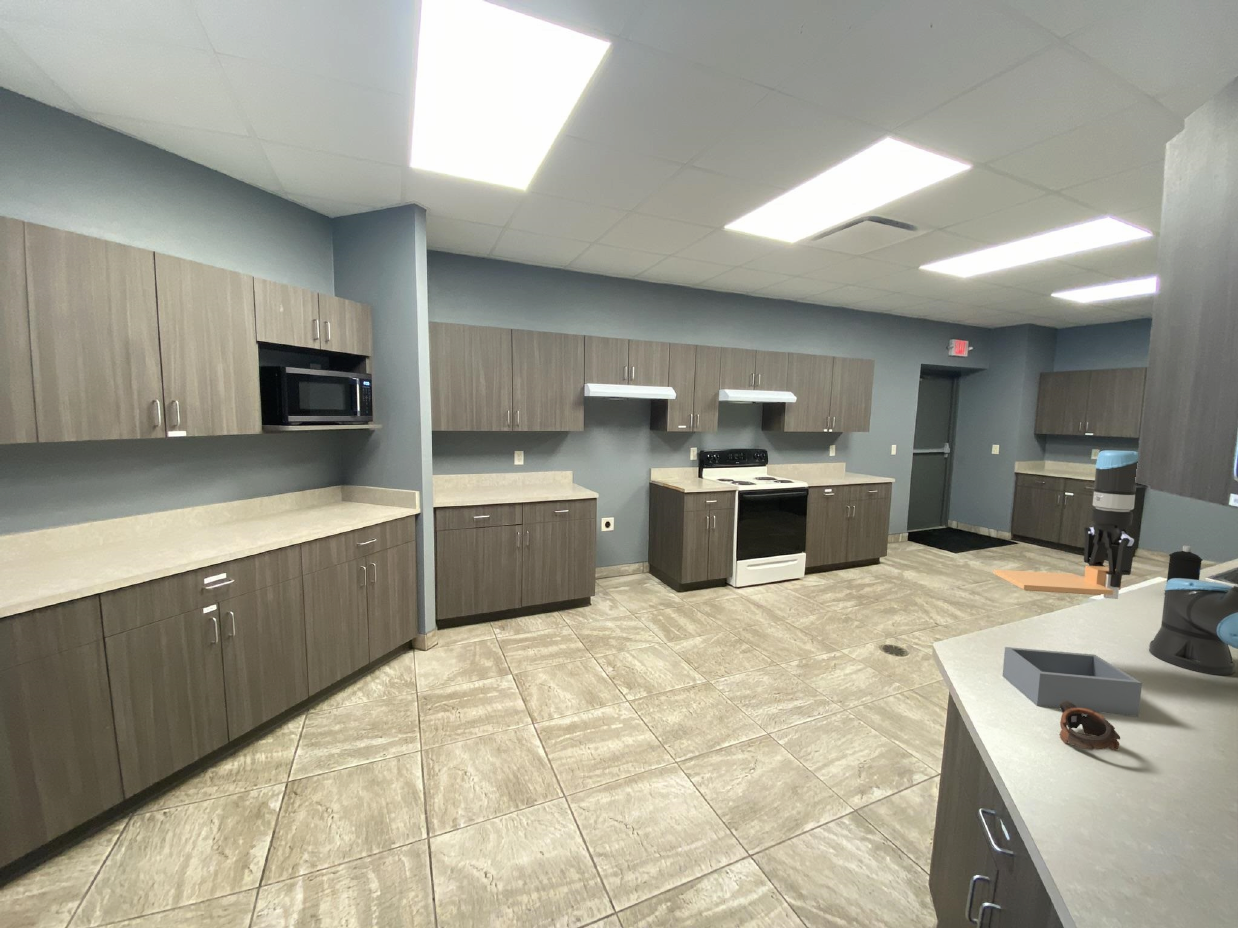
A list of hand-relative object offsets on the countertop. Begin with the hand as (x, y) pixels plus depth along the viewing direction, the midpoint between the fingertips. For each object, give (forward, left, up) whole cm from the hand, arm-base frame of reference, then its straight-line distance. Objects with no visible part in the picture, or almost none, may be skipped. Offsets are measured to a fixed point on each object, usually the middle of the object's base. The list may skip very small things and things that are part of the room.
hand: (1103, 594), depth 125 cm
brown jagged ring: (+27, +35, -21) cm, 49 cm away
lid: (+10, 0, +1) cm, 10 cm away
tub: (+18, +17, -20) cm, 32 cm away
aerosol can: (-75, -67, -21) cm, 103 cm away
